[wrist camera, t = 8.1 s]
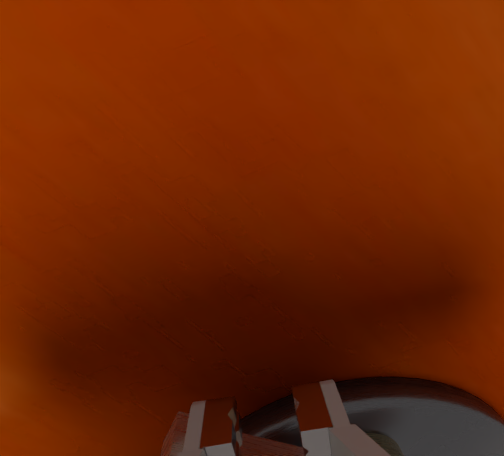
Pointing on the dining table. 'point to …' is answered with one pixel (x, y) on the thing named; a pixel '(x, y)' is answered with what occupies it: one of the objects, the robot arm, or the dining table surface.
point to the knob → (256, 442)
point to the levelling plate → (399, 417)
